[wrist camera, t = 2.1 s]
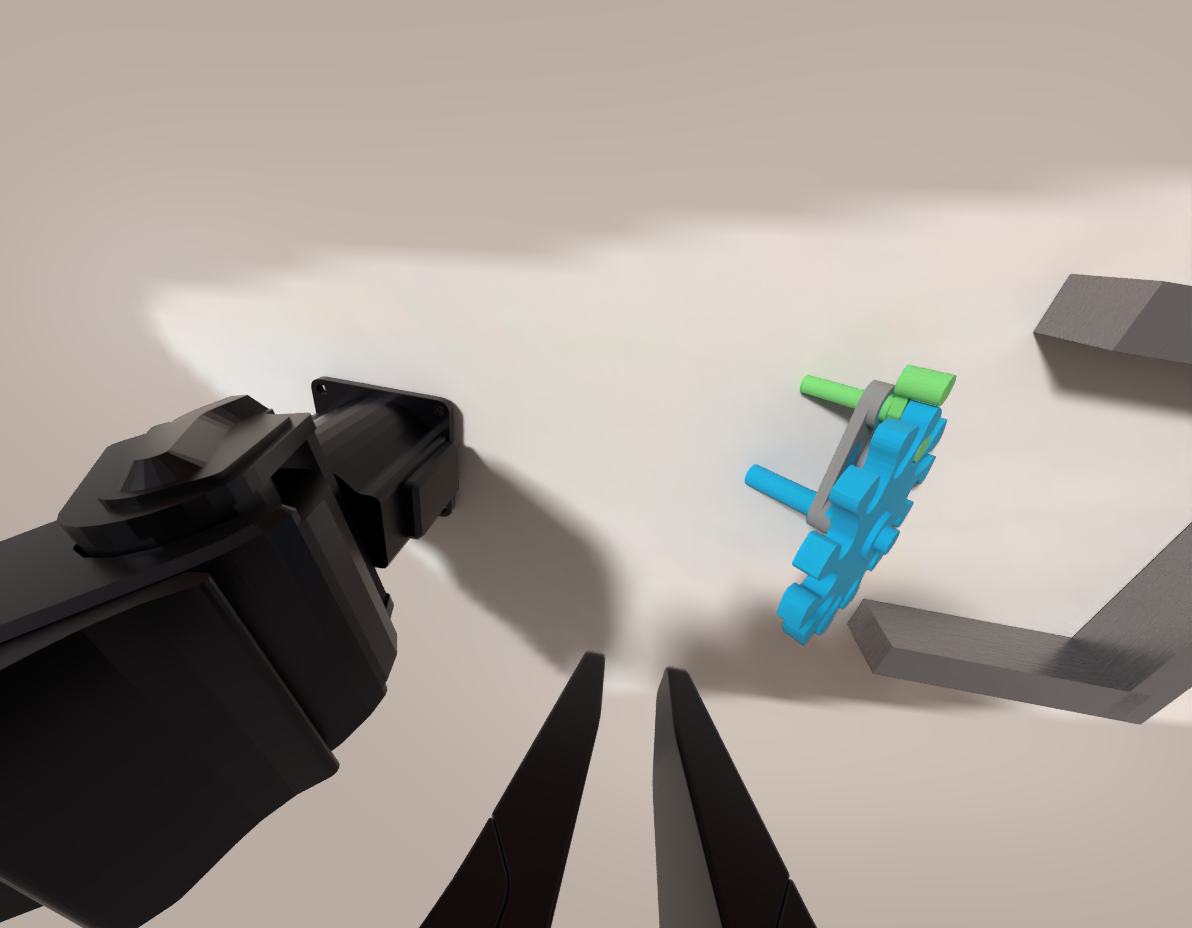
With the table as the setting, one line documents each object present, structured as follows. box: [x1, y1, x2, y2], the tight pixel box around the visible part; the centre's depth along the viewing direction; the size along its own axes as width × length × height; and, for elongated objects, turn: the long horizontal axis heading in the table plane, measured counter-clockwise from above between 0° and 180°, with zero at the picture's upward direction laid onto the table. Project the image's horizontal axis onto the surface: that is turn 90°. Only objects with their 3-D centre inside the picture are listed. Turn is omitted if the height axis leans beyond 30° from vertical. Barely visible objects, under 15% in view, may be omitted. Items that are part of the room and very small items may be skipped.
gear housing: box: [847, 274, 1192, 725], centre depth 17 cm, size 13×18×3 cm
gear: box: [745, 365, 956, 646], centre depth 17 cm, size 11×6×10 cm
